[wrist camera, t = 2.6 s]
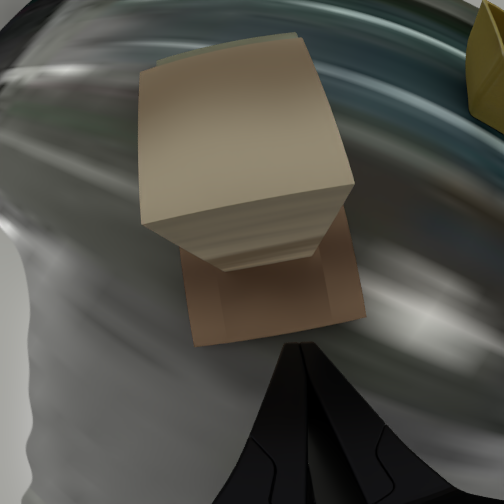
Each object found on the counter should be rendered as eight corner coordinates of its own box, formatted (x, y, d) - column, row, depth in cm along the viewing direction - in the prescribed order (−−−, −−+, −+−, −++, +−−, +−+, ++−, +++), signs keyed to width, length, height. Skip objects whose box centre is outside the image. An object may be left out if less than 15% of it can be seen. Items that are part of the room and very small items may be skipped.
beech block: (311, 256, 17) (355, 183, 7) (224, 272, 18) (141, 224, 7) (294, 175, 18) (301, 37, 8) (212, 190, 19) (140, 72, 8)
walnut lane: (360, 316, 18) (379, 318, 14) (200, 344, 19) (180, 353, 15) (295, 67, 21) (295, 32, 18) (172, 91, 22) (156, 60, 18)
